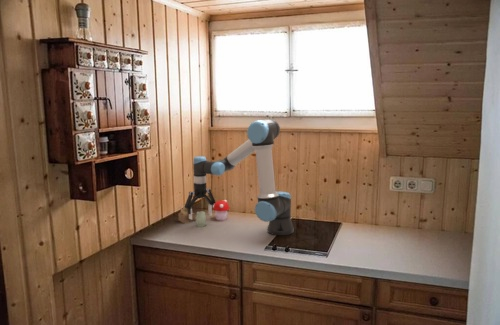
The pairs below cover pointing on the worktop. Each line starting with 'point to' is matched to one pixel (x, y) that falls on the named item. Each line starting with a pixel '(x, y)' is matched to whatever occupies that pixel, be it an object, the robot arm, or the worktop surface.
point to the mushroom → (221, 209)
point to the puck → (201, 219)
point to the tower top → (184, 211)
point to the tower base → (186, 218)
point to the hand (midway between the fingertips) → (200, 217)
